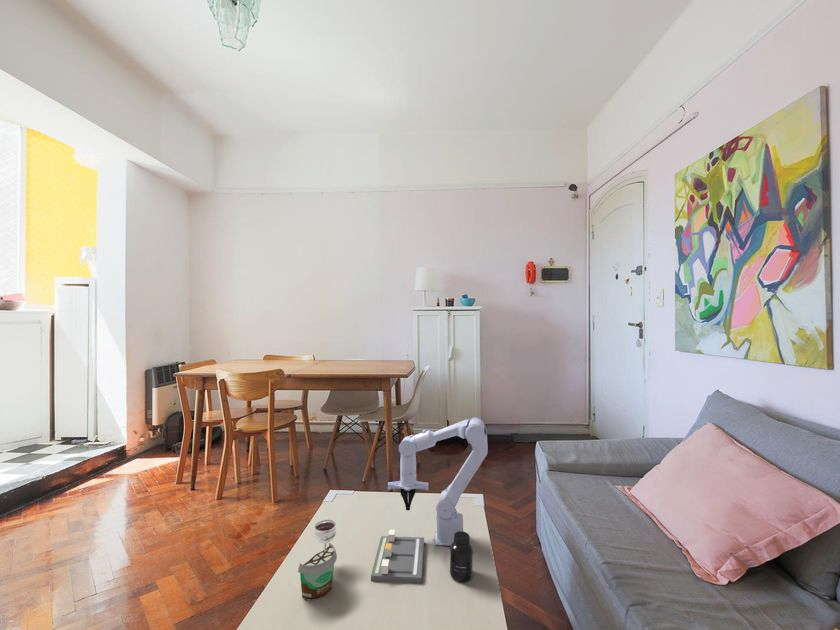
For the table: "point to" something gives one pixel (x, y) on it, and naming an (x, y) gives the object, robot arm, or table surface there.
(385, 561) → the block
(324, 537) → the wineglass
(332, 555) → the food container
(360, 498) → the table surface
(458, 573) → the supplement bottle
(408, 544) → the panel
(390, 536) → the block
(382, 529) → the table surface
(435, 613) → the table surface
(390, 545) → the block
